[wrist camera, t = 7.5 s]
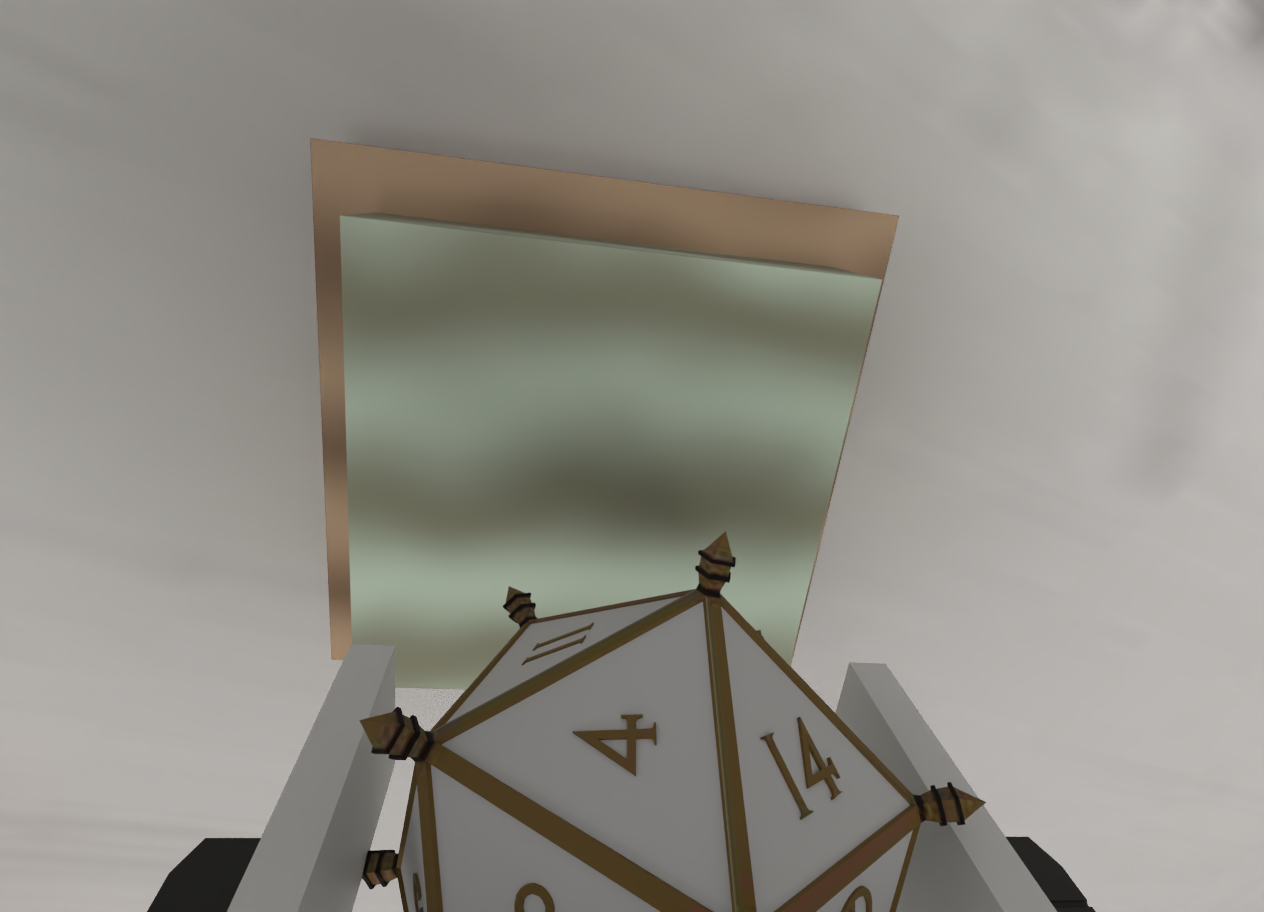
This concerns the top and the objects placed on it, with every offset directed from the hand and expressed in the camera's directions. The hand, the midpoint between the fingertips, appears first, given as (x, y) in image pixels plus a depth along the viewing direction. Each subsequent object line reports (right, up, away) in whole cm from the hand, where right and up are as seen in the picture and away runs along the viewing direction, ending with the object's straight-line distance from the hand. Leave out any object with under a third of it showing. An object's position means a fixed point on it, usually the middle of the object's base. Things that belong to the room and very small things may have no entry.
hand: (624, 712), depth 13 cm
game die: (0, +1, +1) cm, 1 cm away
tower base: (-2, +6, +17) cm, 18 cm away
